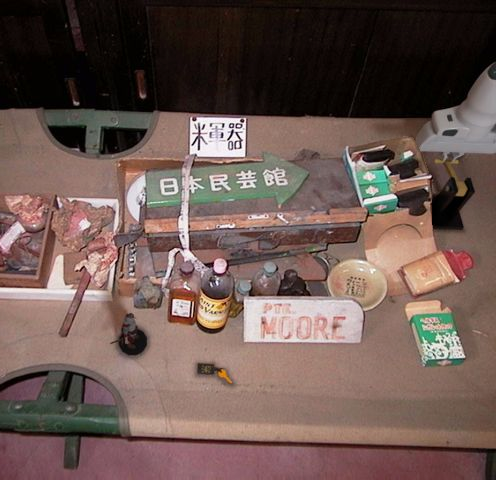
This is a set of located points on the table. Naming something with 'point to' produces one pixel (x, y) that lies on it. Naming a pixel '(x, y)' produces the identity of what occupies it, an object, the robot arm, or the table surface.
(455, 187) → the black slotted stand
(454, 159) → the robot arm
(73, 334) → the table surface
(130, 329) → the figurine
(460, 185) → the lever
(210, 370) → the key tag
